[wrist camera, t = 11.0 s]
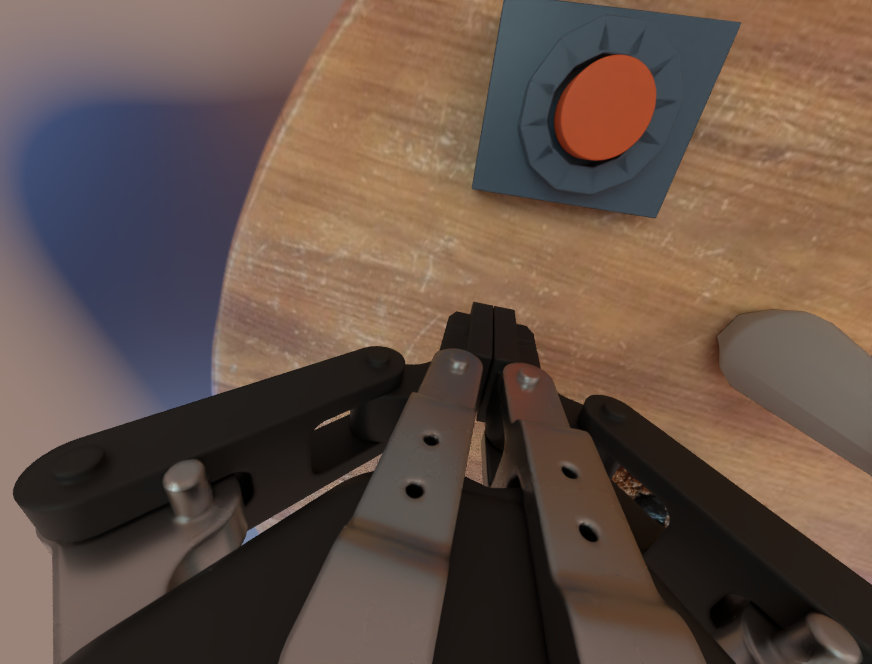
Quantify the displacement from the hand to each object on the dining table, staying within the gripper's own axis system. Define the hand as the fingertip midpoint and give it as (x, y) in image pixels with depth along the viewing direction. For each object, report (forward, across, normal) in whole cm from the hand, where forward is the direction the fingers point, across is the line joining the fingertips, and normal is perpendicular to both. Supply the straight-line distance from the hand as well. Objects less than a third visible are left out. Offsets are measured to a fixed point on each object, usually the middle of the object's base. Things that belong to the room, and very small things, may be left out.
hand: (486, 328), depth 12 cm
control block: (+11, -3, -8) cm, 14 cm away
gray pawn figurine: (+12, -18, +2) cm, 22 cm away
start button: (+8, -3, -8) cm, 11 cm away
